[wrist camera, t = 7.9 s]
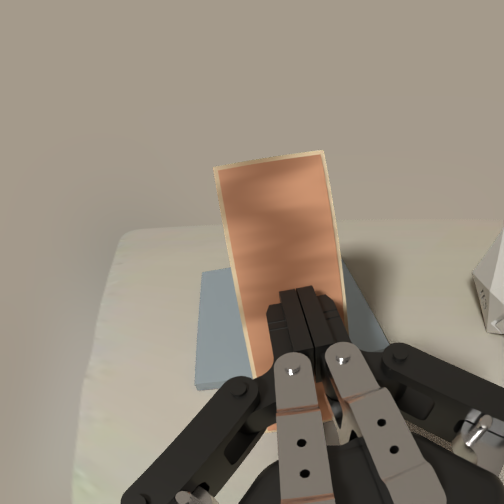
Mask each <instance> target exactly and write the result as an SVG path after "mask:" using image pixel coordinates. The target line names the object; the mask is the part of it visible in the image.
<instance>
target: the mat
mask: <svg viewBox="0 0 504 504" xmlns="http://www.w3.org/2000/svg"><path fill="white" fill-rule="evenodd" d="M341 261H342V269H343V278H344V287H345V296H346V306H347V317H348V329H349V338H350V340H351V342H352V343H353V344H354V345H355V346H357V347H358V348H359V349H360V350H363V351H367V352H383V351H384V349H385V348H386V347H387V346H389V343H388V341H387V339H386V337H385V335H384V333H383V331H382V329H381V327H380V326H379V324H378V322H377V320H376V318H375V316H374V314H373V313H372V311H371V309H370V307H369V305H368V304H367V302H366V300H365V298H364V296H363V295H362V293H361V291H360V289H359V287H358V286H357V284H356V282H355V280H354V279H353V277H352V275H351V273H350V272H349V270H348V268H347V267H346V265H345V263H344V261H343V260H342V258H341ZM236 376H246V377H249V378H251V379H253V376H252V371H251V367H250V362H249V357H248V352H247V347H246V342H245V337H244V332H243V327H242V322H241V317H240V312H239V307H238V302H237V297H236V292H235V287H234V281H233V276H232V271H231V267H230V268H225V269H219V270H213V271H207V272H202V280H201V292H200V305H199V318H198V333H197V349H196V366H195V386H196V388H197V390H208V389H217V388H220V387H221V386H222V385H223V384H224V383H225V382H226V381H227V380H229V379H230V378H233V377H236Z"/></svg>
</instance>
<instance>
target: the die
mask: <svg viewBox="0 0 504 504" xmlns="http://www.w3.org/2000/svg"><path fill="white" fill-rule="evenodd" d="M472 275H473V278H474V282H475V285H476V289H477V293H478V297H479V301H480V305H481V309H482V313H483V318H484V322H485V327H486V332H487V333H497V334H504V227H503V229H502V230H501V232H500V234H499V235H498V237H497V238H496V239H495V241H494V242H493V244H492V245H491V247H490V248H489V250H488V251H487V252H486V254H485V255H484V257H483V258H482V259H481V261H480V262H479V263H478V265H477V266H476V267H475V269H474V270H473V271H472Z"/></svg>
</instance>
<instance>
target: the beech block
mask: <svg viewBox="0 0 504 504" xmlns="http://www.w3.org/2000/svg"><path fill="white" fill-rule="evenodd" d="M213 171H214V177H215V182H216V189H217V194H218V199H219V206H220V211H221V217H222V221H223V228H224V233H225V239H226V244H227V250H228V255H229V260H230V266H231V271H232V276H233V281H234V287H235V292H236V297H237V302H238V307H239V312H240V317H241V322H242V327H243V332H244V337H245V342H246V347H247V352H248V357H249V362H250V367H251V371H252V376H253V379H255V378H257V377H259V376H261V375H263V374H265V373H266V372H267V371H268V370H269V369H270V368H271V367H272V365H273V361H274V357H273V351H272V346H271V340H270V334H269V329H268V323H267V317H266V312H267V310H268V307H269V305H272V304H278V303H280V299H279V291H284V290H290V289H295V290H296V288H300V287H305V286H310V285H312V286H313V288H314V291H315V293H316V296H319V295H324V294H326V295H327V296H328V297H330V298H331V299H332V300H333V301H334V303H335V305H336V308H337V311H338V312H339V314H340V317H341V319H342V321H343V324H344V326H345V328H346V331H347V333H348V335H349V329H348V317H347V306H346V296H345V287H344V278H343V269H342V261H341V253H340V246H339V239H338V232H337V225H336V218H335V212H334V205H333V199H332V193H331V188H330V183H329V176H328V171H327V165H326V160H325V155H324V151H323V150H319V151H311V152H303V153H296V154H289V155H282V156H275V157H269V158H263V159H256V160H251V161H244V162H239V163H234V164H228V165H223V166H217V167H213ZM314 383H315V389H316V395H317V401H318V406H319V407H320V410H321V416H322V422H327V421H331V420H333V419H332V416H331V414H330V411H329V408H328V406H327V403H326V400H325V397H324V387H323V383H322V382H319V383H316V381H315V378H314ZM276 431H277V424H276V423H275V424H273V425H271V426H269V427H267V429H266V431H265V433H270V432H276Z"/></svg>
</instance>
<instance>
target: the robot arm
mask: <svg viewBox="0 0 504 504" xmlns="http://www.w3.org/2000/svg"><path fill="white" fill-rule="evenodd" d="M279 299H280V303H278V304H272V305H269V307H268V310H267V312H266V317H267V323H268V329H269V334H270V340H271V346H272V351H273V357H274V361H273V365H272V367H271V368H270V369H269V370H268V371H267V372H266V373H265V374H263V375H261V376H259V377H257V378H255V379H251V378H249V377H246V376H236V377H233V378H230V379H229V380H227V381H226V382H225V383H224V384H223V385H222V386H221V387H220V389H219V390H218V391H217V392H216V393H215V394H214V396H213V397H212V398H211V399H210V400H209V401H208V403H207V404H206V405H205V406H204V407H203V408H202V410H201V411H200V412H199V413H198V414H197V415H196V416H195V417H194V419H193V420H192V421H191V422H190V423H189V424H188V425H187V427H186V428H185V429H184V430H183V431H182V432H181V433H180V434H179V435H178V437H177V438H176V439H175V440H174V441H173V442H172V443H171V444H170V445H169V446H168V447H167V449H166V450H165V451H164V452H163V453H162V454H161V455H160V456H159V457H158V458H157V459H156V460H155V461H154V462H153V464H152V465H151V466H150V467H149V468H148V469H147V470H146V471H145V472H144V473H143V474H142V475H141V476H140V477H139V478H138V479H137V480H136V481H135V482H134V483H133V484H132V485H131V486H130V487H129V488H128V489H127V490H126V491H125V493H124V494H123V496H122V498H121V504H219V503H218V501H217V500H216V499H215V498H214V497H215V496H216V495H217V493H218V492H219V491H220V490H221V489H222V487H223V486H224V485H225V484H226V482H227V481H228V480H229V479H230V477H231V476H232V475H233V474H234V472H235V471H236V470H237V468H238V467H239V466H240V465H241V463H242V462H243V461H244V459H245V458H246V457H247V455H248V454H249V453H250V451H251V450H252V449H253V447H254V446H255V445H256V443H257V442H258V441H259V439H260V438H261V436H262V435H263V434H264V432H265V431H266V429H267V427H269V426H271V425H273V424H275V423H276V424H277V440H278V456H279V460H277V461H275V462H274V463H272V464H271V465H269V466H268V467H267V468H265V469H264V470H263V471H262V472H261V473H260V474H259V475H258V477H257V478H256V479H255V481H254V482H253V484H252V485H251V487H250V488H249V489H248V491H247V492H246V494H245V495H244V496H243V498H242V499H241V501H240V502H239V503H238V504H504V486H503V484H502V482H501V480H500V479H499V478H498V476H499V474H500V472H501V469H502V467H503V465H504V388H503V387H501V386H498V385H496V384H494V383H492V382H489V381H487V380H485V379H482V378H480V377H478V376H476V375H474V374H471V373H469V372H467V371H465V370H462V369H460V368H458V367H456V366H454V365H451V364H449V363H447V362H445V361H442V360H440V359H438V358H436V357H434V356H431V355H429V354H427V353H425V352H423V351H421V350H418V349H416V348H414V347H412V346H410V345H407V344H405V343H393V344H390V345H389V346H387V347H386V348H385V349H384V351H383V352H367V351H363V350H360V349H359V348H358V347H357V346H355V345H354V344H353V343H352V342H351V340H350V338H349V335H348V333H347V331H346V328H345V326H344V324H343V321H342V319H341V317H340V314H339V312H338V311H337V308H336V305H335V303H334V301H333V300H332V299H331V298H330V297H328V296H327V295H326V294H324V295H319V296H316V293H315V291H314V288H313V286H312V285H310V286H305V287H300V288H296V290H295V289H290V290H284V291H279ZM314 378H315V381H316V383H319V382H322V383H323V387H324V397H325V400H326V403H327V406H328V408H329V411H330V414H331V416H332V419H333V421H334V424H335V427H336V429H337V432H338V436H339V443H340V445H339V446H326V441H325V434H324V428H323V422H322V416H321V410H320V407H319V406H318V401H317V395H316V389H315V383H314ZM404 419H405V420H407V421H409V422H411V423H413V424H415V425H417V426H418V427H420V428H422V429H424V430H426V431H428V432H430V433H432V434H434V435H436V436H438V437H440V438H442V439H444V440H446V441H449V442H451V443H452V450H453V452H454V453H452V452H451V451H449V450H447V449H445V448H443V447H441V446H439V445H437V444H436V443H434V442H432V441H430V440H428V439H427V438H425V437H423V436H421V435H419V434H416V433H414V432H410V430H409V428H408V426H407V424H406V422H405V420H404Z"/></svg>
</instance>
